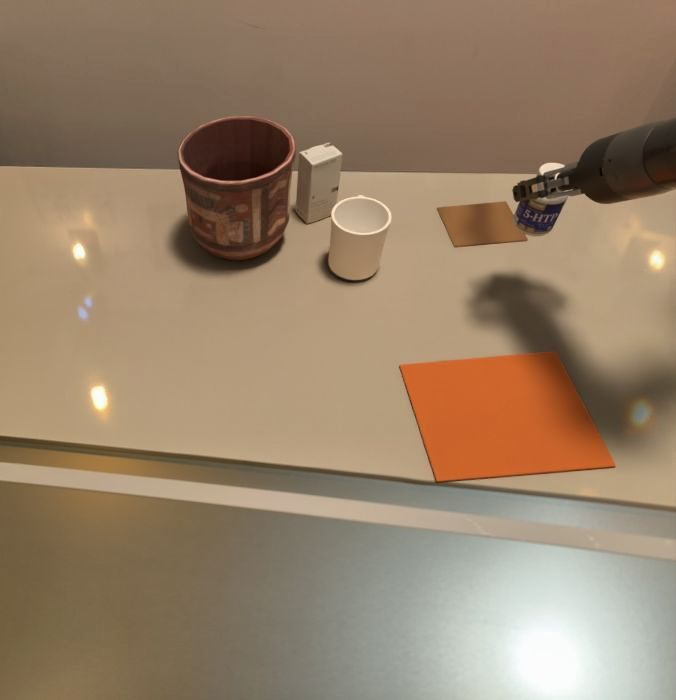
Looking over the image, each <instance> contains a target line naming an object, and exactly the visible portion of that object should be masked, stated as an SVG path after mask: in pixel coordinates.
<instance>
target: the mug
mask: <svg viewBox="0 0 676 700" xmlns="http://www.w3.org/2000/svg"><path fill="white" fill-rule="evenodd" d="M391 212H392V211H391V210H390V209H389V207H388V206H387V205H386V204H384V202H382V201H379V200H378V199H375V198H371V197H368V196H367V197H366V196H365V194H364V195H363V194H358V195H357V196H351V197H347V198H345V199H341V200H340V201H338V202H337V204H336V205H335V206H334V208H333V209H332V213H331V216H330V237H329V238H330V239H329V249H328V260H327V263H328V268H329V270H330V272H331V274H333V275H334V276H335V277H337V278H338V279H340V280H342V281H345V282H351V283H360V282H365V281H367V280H369V279H371V278H372V277H374V276H375V275H376V274H377V272H378V270H379V266H380V262H381V258H382V254H383V250H384V246H385V242H386V237H387V234H388V232H389V228H390V226H391V223H392V213H391Z"/></svg>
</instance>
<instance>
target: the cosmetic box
mask: <svg viewBox="0 0 676 700" xmlns="http://www.w3.org/2000/svg"><path fill="white" fill-rule="evenodd" d="M343 156H344V155H343V152H341V150H339V149H338V148H336V147H335V146H334V145H333V144H332V143H331V142H326V143H323V144H320V145H315V146H312V147H310V148H308V149H304V150H302V151H299V154H298V164H297V165H298V166H297V180H296V181H297V182H296V196H295V198H296V199H295V213H296V214H297V215H298V216H299V217H300V219H302V221H303V222H304V223H305V224H311V223H315V222H318V221H320V220H323V219H326V218H329V217H331V213H332V209H333V208H334V206H335V205H336V204H337V203H338V196H339V186H340V180H341V171H342V163H343Z"/></svg>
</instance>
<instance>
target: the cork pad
mask: <svg viewBox="0 0 676 700" xmlns="http://www.w3.org/2000/svg"><path fill="white" fill-rule="evenodd" d="M436 210H437V213H438V214H439V217H440V219H441V221H442V223H443V225H444V228H445V230H446V232H447V234H448V236H449V237H450V241H451V242H452V245H453V247H454V248H462V247H474V246H483V245H494V244H496V245H497V244H507V243H517V242H527V241H528V238H527V235H525V234H523V233H521V232H519V231H518V230H517V229H516V228H515V227H514V225H513V222H512V220H513V216H514V213H513V211H512V210H511V208H510V206H509V205H508V203H507V201H506V200H504V201H495V202H494V201H493V202H483V203H482V202H481V203H471V204H461V205H450V206H438V207H436Z"/></svg>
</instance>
